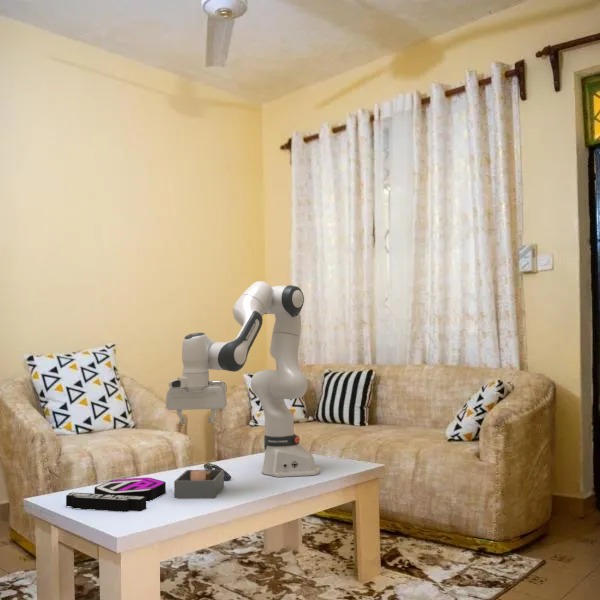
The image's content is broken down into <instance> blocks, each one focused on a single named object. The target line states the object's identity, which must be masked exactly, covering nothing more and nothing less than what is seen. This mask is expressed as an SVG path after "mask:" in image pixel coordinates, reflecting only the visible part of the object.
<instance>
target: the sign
mask: <svg viewBox="0 0 600 600" xmlns="http://www.w3.org/2000/svg"><path fill="white" fill-rule="evenodd" d="M166 485H167V484H166V481H164V480H160V479H156V478H152V477H136V478H135V477H133V478H119V479H113V480H109V481H107V482H103V483H102V484H99V485H97V486H95V487H94V489H93V490H94V493H90V492H69V493H68V494H66V496H65V501H66V502H65V506H72V507H71V508H72V509H73V508H81V509H80V510H87V509H95V510H94V511H103V510H108V512H119V511H120V512H121V511H122V513H128V512H142V511H145V510H146V509H147V502H146V501H148V502H150V500H152V501H153V499H154V500H156V499H157V497H158V498H159V496H160V497H162V496H164V495H166V491H167V490H166V487H167V486H166ZM163 494H164V495H163ZM155 498H156V499H155Z"/></svg>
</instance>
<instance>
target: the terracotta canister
mask: <svg viewBox="0 0 600 600" xmlns="http://www.w3.org/2000/svg"><path fill="white" fill-rule="evenodd" d="M192 470H193V471H191V481H203V480H206V471H205V470H206V469H192Z"/></svg>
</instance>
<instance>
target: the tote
mask: <svg viewBox="0 0 600 600" xmlns="http://www.w3.org/2000/svg"><path fill="white" fill-rule="evenodd" d="M193 470H194V469H186V470H185V471H184V472H183V473H181V474H180V475H179V477H177V478H176V479H175V480H174V481H173V488H174V491H173V494H174V495H173V496H174V498H179V499H215V498H216V497H217V496H218V494H219V493H220V492H221V490H223V488H224V486H225V474H224V473H225V470H224V469H204V470H205V471H211V480H203V481H191V471H193ZM219 491H220V492H219ZM216 495H217V496H216Z"/></svg>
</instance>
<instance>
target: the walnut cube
mask: <svg viewBox="0 0 600 600" xmlns="http://www.w3.org/2000/svg"><path fill="white" fill-rule="evenodd" d="M206 480H211V471H206Z"/></svg>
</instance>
